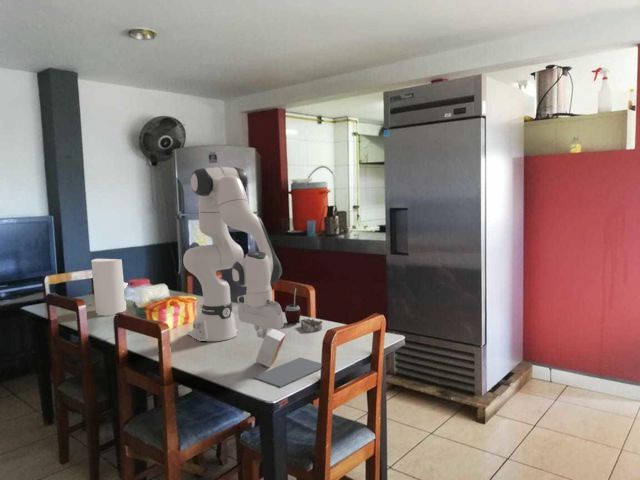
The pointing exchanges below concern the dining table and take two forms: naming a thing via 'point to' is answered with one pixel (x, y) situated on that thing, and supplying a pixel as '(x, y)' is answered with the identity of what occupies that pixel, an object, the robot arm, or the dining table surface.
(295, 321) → the mate gourd
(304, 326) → the egg carton
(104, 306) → the cylinder
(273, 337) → the small box
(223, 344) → the dining table surface
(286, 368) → the slate mat
